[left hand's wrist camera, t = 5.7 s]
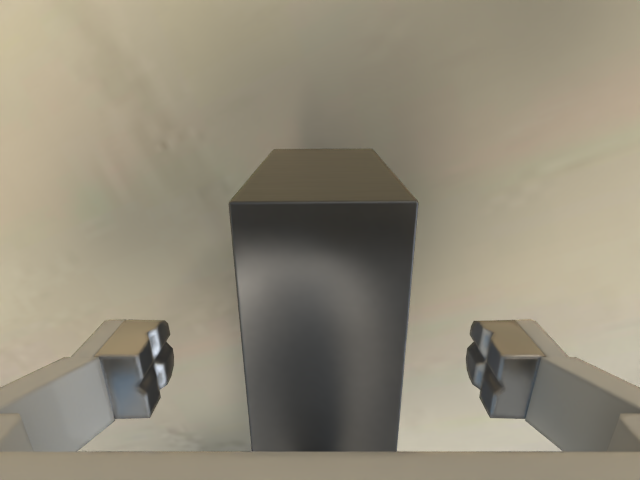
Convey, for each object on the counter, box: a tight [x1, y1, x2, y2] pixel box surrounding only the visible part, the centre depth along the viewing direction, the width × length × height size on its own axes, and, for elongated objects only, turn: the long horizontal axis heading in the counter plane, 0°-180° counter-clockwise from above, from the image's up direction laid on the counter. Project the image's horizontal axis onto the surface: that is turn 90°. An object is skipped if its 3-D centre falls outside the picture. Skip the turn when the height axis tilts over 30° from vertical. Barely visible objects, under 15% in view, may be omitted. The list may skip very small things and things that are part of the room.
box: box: [229, 149, 418, 452], centre depth 22 cm, size 28×6×11 cm, turn 0°
